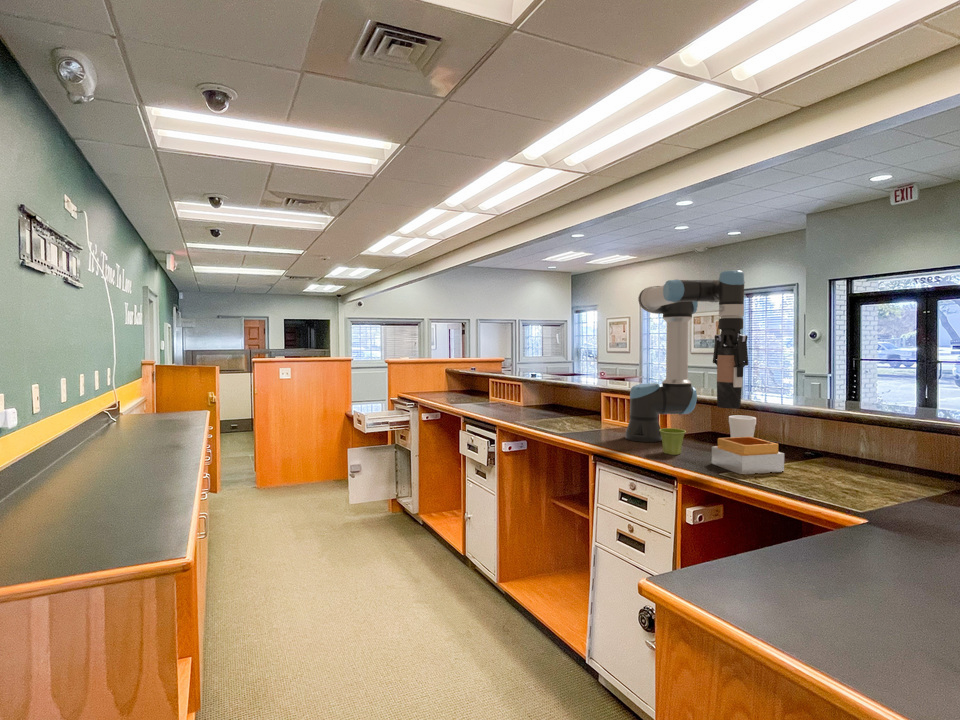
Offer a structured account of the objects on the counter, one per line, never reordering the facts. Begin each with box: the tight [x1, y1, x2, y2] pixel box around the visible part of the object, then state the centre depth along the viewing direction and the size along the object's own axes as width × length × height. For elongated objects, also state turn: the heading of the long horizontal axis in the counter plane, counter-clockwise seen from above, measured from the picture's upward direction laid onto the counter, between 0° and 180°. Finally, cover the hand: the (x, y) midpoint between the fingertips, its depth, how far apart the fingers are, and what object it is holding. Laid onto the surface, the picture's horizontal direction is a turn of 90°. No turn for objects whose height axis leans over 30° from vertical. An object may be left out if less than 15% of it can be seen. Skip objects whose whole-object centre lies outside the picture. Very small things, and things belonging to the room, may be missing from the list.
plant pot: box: [659, 427, 687, 456], centre depth 205 cm, size 9×9×9 cm
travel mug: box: [716, 348, 743, 410], centre depth 183 cm, size 8×8×20 cm
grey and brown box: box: [710, 436, 785, 475], centre depth 184 cm, size 15×21×9 cm
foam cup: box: [728, 414, 757, 438], centre depth 209 cm, size 10×9×13 cm
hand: (729, 385), depth 183 cm, fingers closed on travel mug, 8 cm apart
